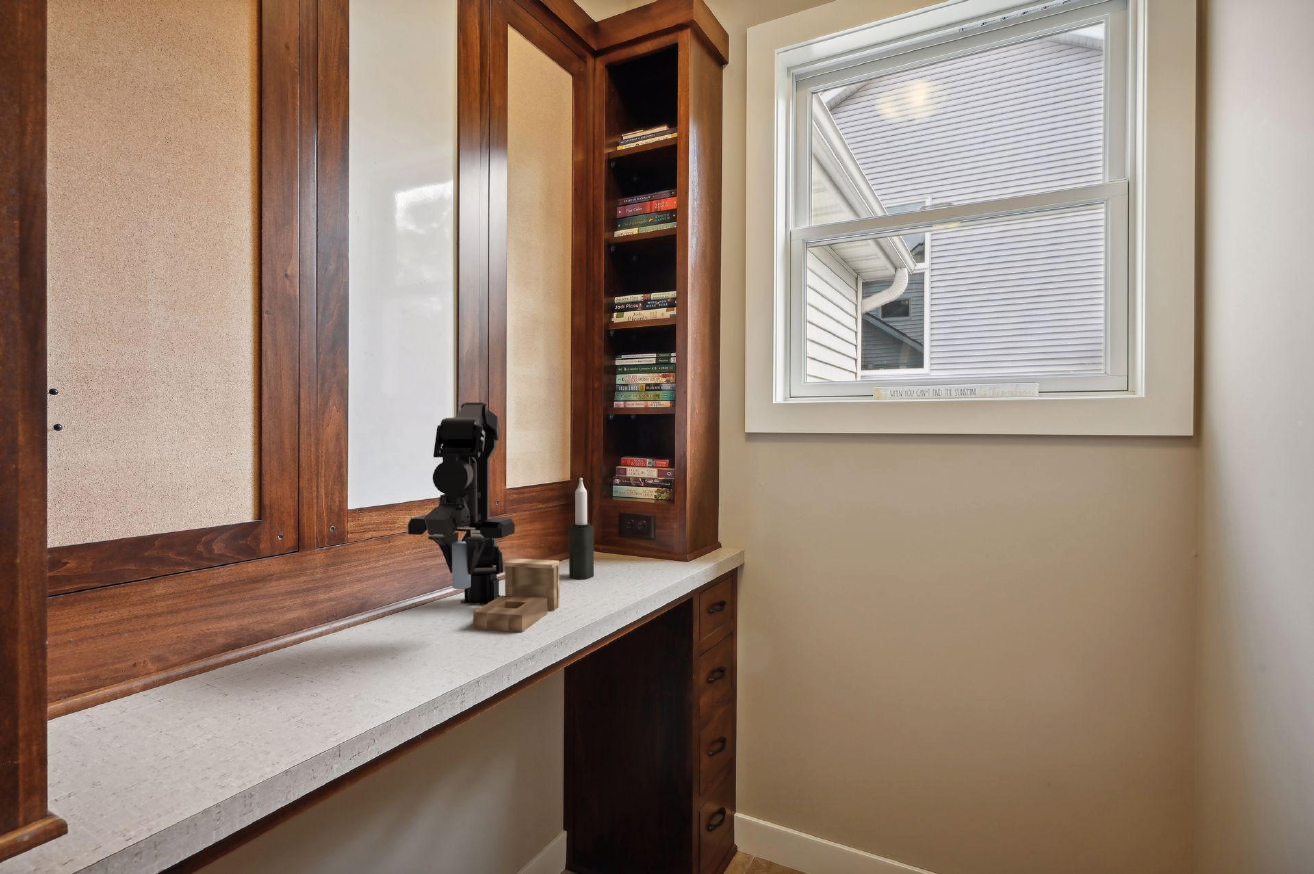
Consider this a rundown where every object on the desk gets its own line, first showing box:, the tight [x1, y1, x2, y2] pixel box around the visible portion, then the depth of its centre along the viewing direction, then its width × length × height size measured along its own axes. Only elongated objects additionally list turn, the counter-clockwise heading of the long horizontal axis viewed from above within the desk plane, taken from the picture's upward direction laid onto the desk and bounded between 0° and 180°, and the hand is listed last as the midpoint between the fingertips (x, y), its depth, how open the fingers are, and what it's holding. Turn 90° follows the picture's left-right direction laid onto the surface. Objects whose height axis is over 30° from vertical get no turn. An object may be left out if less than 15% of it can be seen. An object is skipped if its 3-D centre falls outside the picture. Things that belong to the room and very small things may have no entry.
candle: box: [568, 477, 595, 581], centre depth 168 cm, size 5×5×25 cm
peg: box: [451, 540, 471, 590], centre depth 121 cm, size 3×3×8 cm
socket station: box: [472, 557, 560, 633], centre depth 134 cm, size 11×18×10 cm, turn 167°
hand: (461, 573), depth 122 cm, fingers closed on peg, 3 cm apart
